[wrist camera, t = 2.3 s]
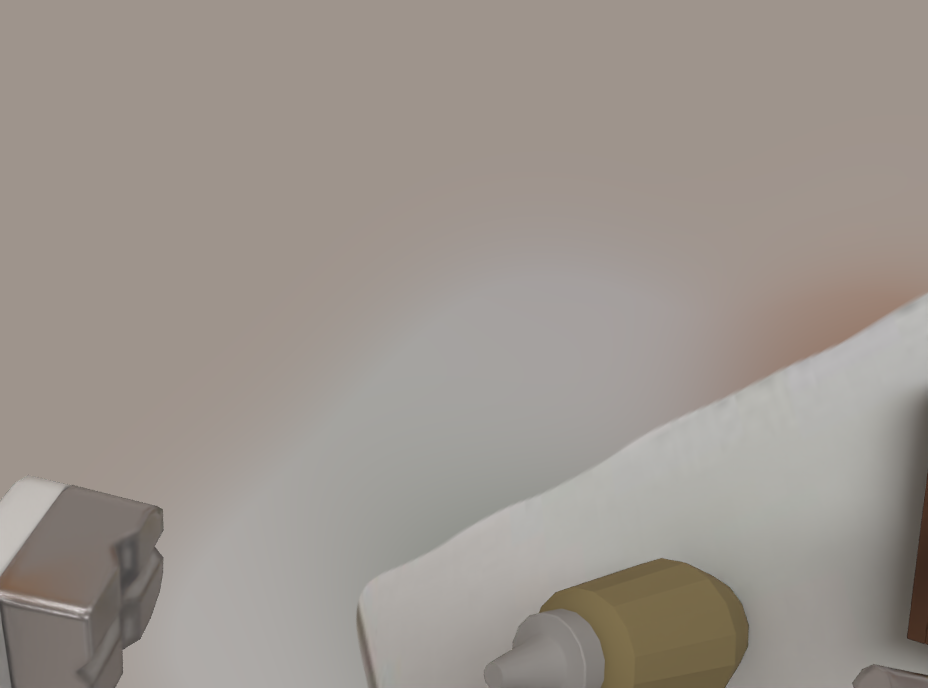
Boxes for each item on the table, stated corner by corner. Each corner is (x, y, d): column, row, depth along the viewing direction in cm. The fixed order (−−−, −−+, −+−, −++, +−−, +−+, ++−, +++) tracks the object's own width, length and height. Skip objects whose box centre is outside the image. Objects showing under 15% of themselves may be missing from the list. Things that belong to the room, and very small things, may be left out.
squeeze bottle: (691, 525, 53) (482, 545, 40) (797, 625, 48) (595, 684, 35) (624, 622, 56) (409, 669, 43) (718, 727, 50) (504, 815, 38)
